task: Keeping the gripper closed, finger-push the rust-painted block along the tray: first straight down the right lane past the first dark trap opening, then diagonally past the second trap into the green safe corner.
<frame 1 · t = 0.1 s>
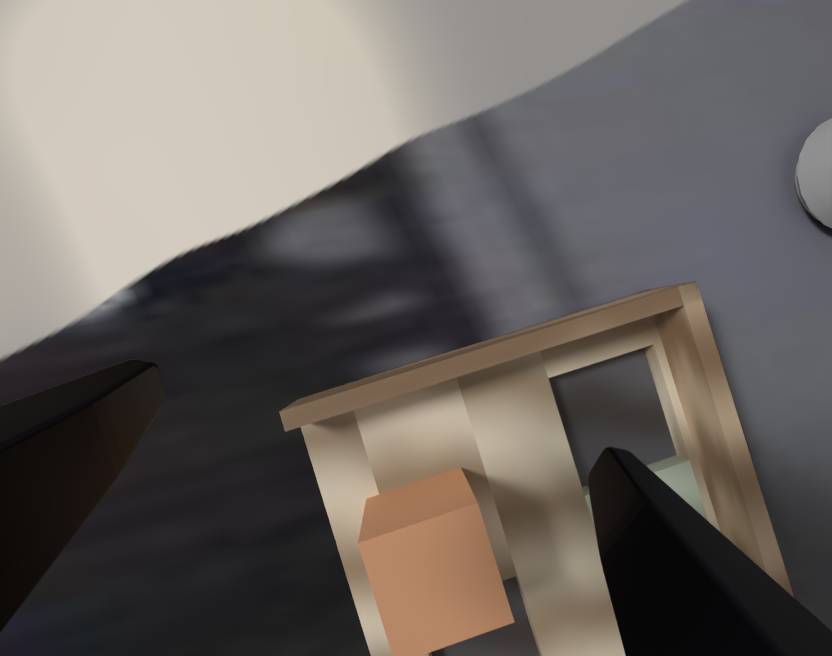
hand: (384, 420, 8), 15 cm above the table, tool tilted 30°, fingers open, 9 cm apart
rust block: (428, 530, 21), point 1 cm above the table, touching tray
tray: (530, 511, 23), on the table
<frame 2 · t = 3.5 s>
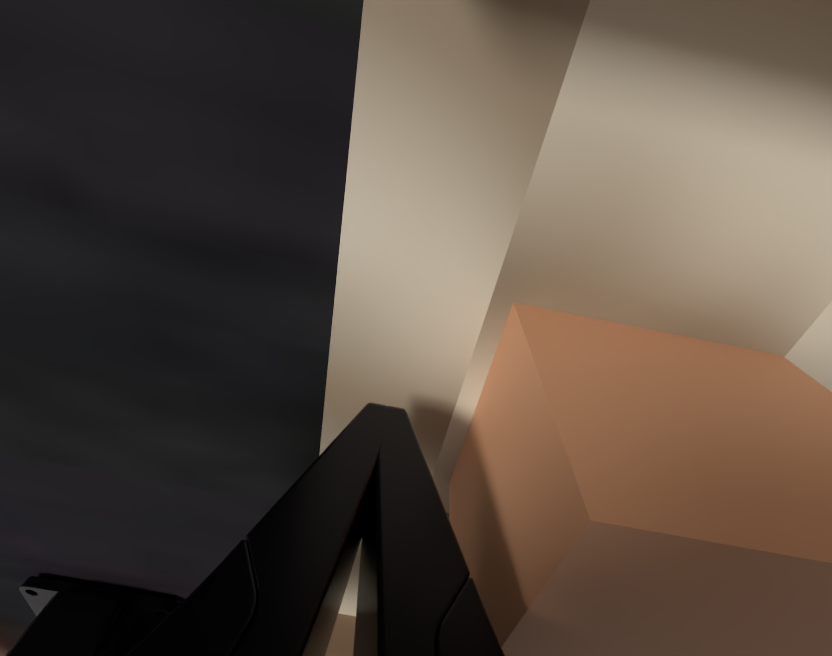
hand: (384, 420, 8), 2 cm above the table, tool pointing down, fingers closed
rust block: (591, 429, 9), point 1 cm above the table, touching gripper
tray: (716, 466, 11), on the table
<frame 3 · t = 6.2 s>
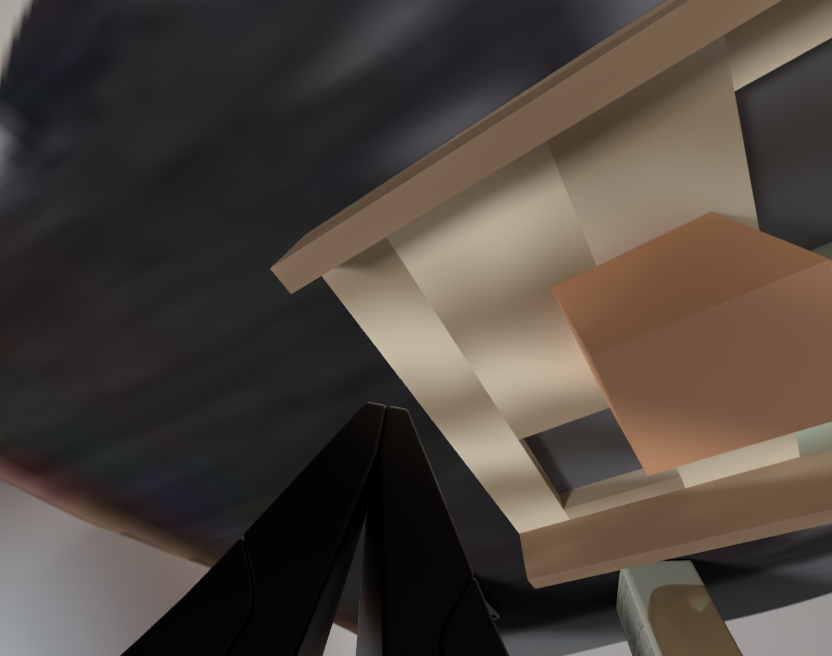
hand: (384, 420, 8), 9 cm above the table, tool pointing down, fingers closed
skincare box: (649, 579, 26), on the table
rust block: (647, 311, 15), point 1 cm above the table, touching tray
tray: (668, 316, 16), on the table
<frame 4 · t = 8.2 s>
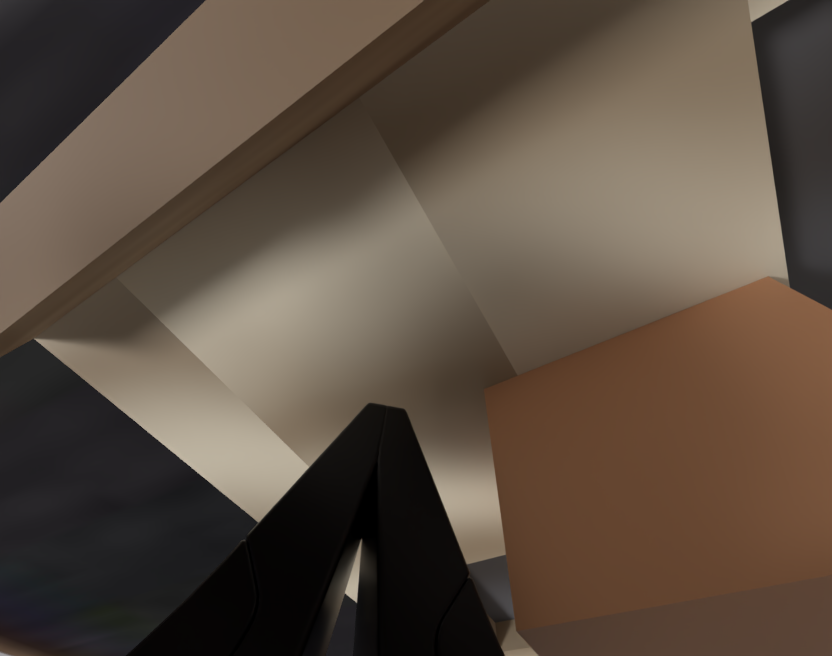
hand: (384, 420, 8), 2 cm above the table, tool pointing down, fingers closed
rust block: (646, 429, 9), point 1 cm above the table, touching gripper
tray: (636, 414, 10), on the table
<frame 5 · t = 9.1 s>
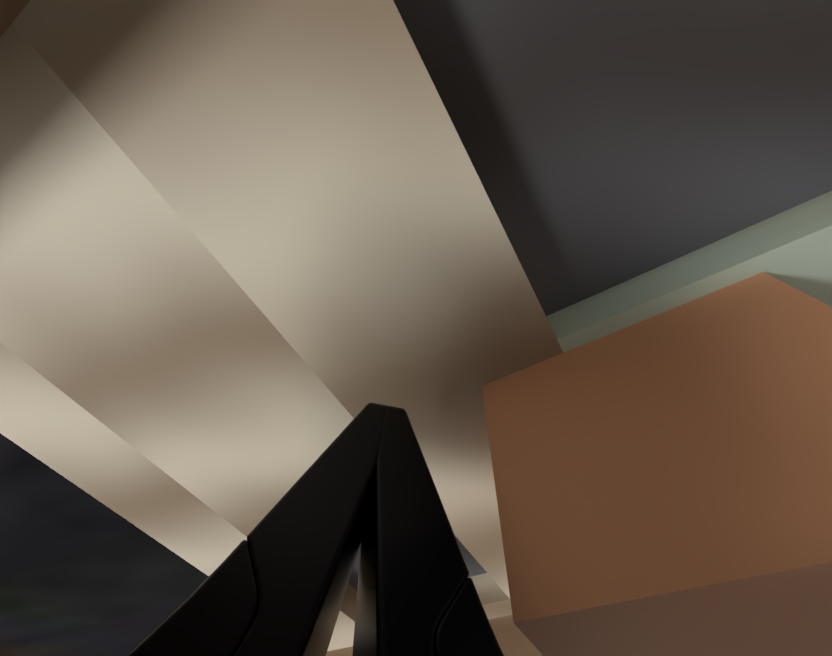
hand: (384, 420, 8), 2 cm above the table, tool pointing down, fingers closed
rust block: (644, 425, 9), point 1 cm above the table, touching tray, gripper
tray: (440, 376, 10), on the table
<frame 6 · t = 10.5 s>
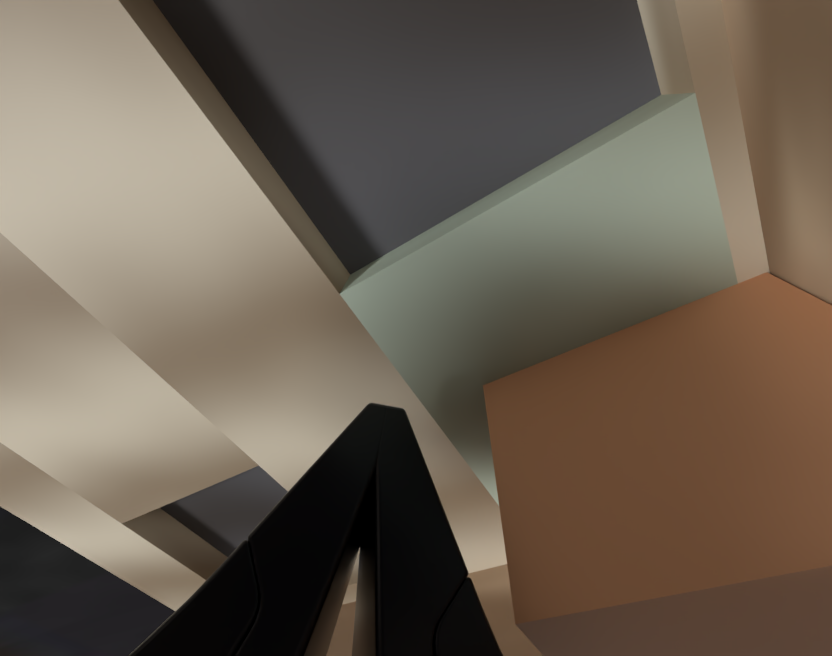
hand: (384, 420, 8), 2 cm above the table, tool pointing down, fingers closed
rust block: (645, 426, 9), point 1 cm above the table, touching tray, gripper
tray: (269, 342, 10), on the table
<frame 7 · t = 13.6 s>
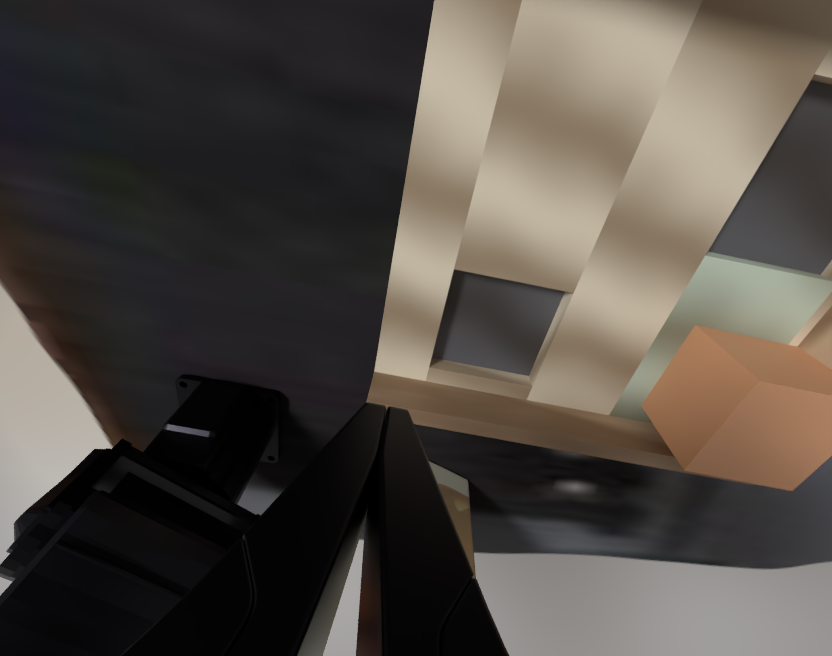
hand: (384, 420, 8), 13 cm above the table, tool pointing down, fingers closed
skincare box: (423, 486, 29), on the table
rust block: (714, 378, 21), point 1 cm above the table, touching tray
tray: (626, 244, 19), on the table
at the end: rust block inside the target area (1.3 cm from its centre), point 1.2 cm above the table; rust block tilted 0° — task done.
